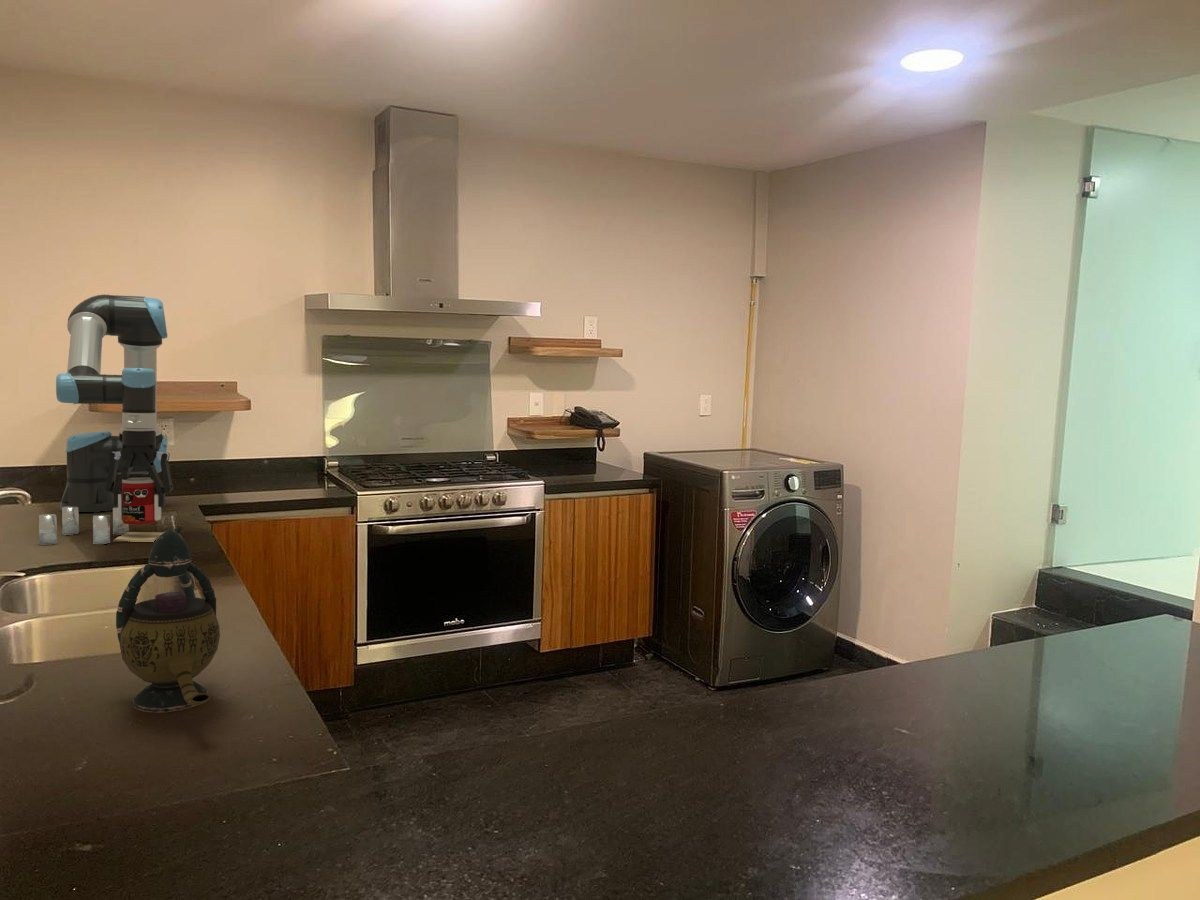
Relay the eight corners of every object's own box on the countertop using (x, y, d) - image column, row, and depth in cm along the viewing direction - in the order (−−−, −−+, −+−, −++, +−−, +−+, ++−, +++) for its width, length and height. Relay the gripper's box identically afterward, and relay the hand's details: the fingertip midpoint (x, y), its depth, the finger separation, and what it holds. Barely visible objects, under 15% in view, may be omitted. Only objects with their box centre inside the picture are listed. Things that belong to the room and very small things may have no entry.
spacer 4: (116, 533, 232) (115, 506, 231) (130, 533, 232) (130, 506, 232) (110, 535, 228) (110, 508, 228) (126, 535, 229) (125, 508, 228)
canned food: (114, 523, 222) (114, 479, 221) (140, 518, 230) (139, 476, 229) (139, 525, 220) (139, 481, 219) (164, 521, 228) (163, 478, 227)
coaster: (127, 535, 230) (127, 532, 230) (165, 535, 231) (165, 532, 231) (113, 542, 220) (113, 539, 220) (152, 542, 221) (152, 539, 221)
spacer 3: (96, 542, 219) (96, 514, 218) (112, 542, 220) (112, 514, 219) (90, 545, 215) (90, 516, 215) (106, 545, 216) (106, 516, 216)
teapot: (202, 672, 130) (201, 514, 128) (253, 730, 110) (254, 544, 108) (108, 688, 122) (106, 520, 120) (145, 752, 102) (144, 553, 101)
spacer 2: (66, 532, 230) (65, 506, 229) (81, 533, 230) (80, 506, 230) (60, 535, 226) (59, 508, 226) (75, 535, 227) (75, 508, 226)
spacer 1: (43, 542, 217) (43, 514, 216) (59, 542, 218) (59, 514, 217) (36, 545, 213) (36, 516, 213) (53, 545, 214) (52, 516, 213)
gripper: (88, 429, 218) (89, 521, 220) (178, 431, 221) (178, 522, 223) (100, 427, 225) (101, 516, 227) (187, 429, 229) (187, 517, 230)
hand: (139, 519), depth 225 cm, fingers closed on canned food, 8 cm apart
